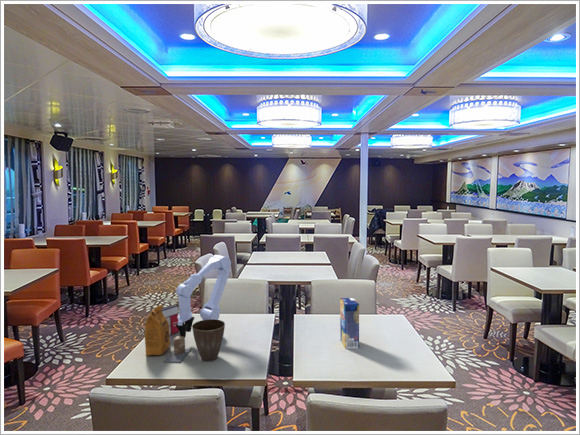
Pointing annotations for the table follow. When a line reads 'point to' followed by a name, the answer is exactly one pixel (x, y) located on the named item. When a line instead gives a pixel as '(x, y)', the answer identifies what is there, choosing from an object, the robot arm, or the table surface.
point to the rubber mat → (176, 357)
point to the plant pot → (208, 338)
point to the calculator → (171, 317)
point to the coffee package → (156, 333)
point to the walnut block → (179, 344)
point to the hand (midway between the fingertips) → (185, 334)
